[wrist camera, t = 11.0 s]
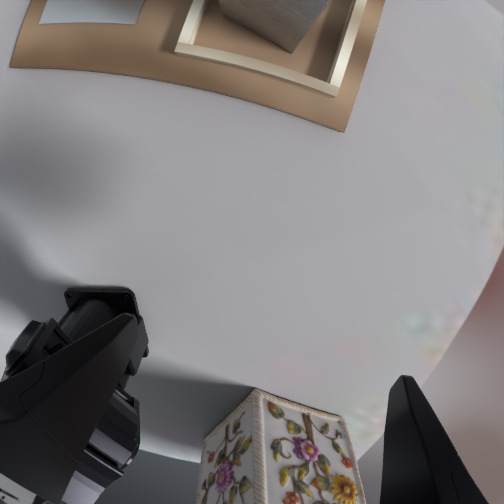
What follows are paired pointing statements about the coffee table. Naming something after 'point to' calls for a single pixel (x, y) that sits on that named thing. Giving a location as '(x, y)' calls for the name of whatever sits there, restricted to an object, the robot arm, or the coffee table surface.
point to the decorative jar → (279, 456)
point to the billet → (275, 18)
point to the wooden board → (208, 50)
